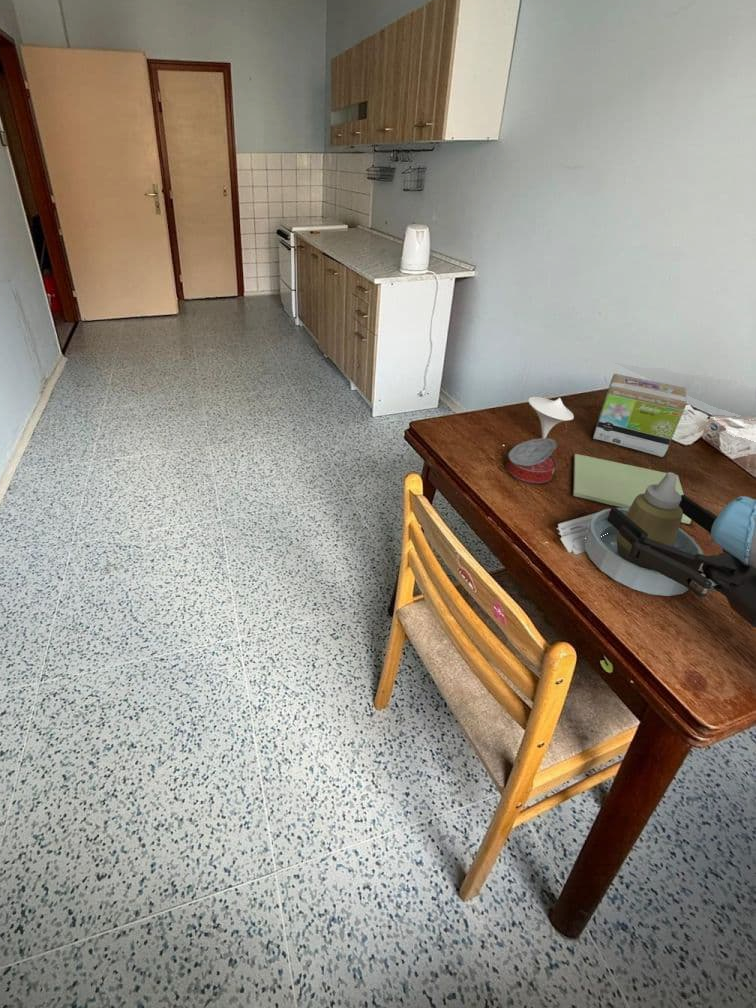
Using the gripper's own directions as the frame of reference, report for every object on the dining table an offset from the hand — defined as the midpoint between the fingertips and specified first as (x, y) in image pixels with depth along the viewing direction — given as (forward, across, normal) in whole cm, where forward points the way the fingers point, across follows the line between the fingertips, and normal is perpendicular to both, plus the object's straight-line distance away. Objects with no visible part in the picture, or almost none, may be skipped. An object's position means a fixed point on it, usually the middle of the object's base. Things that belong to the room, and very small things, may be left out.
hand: (645, 507), depth 80 cm
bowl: (-2, 0, -10) cm, 11 cm away
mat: (+16, +15, -10) cm, 24 cm away
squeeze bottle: (-2, 0, -10) cm, 10 cm away
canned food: (+26, -1, -11) cm, 29 cm away
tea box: (+32, +30, -11) cm, 45 cm away
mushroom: (+37, +10, -11) cm, 40 cm away
